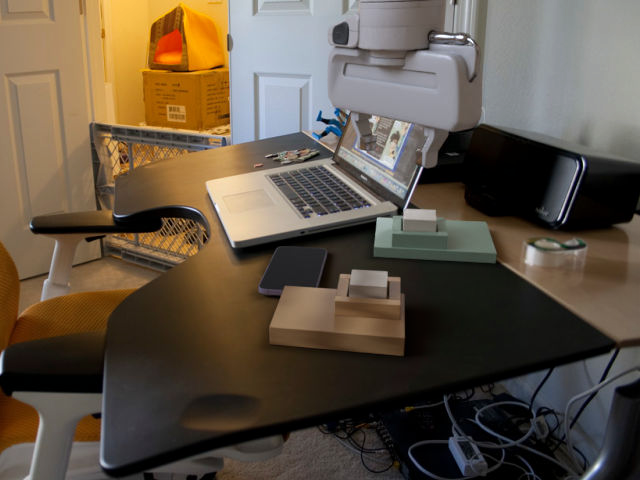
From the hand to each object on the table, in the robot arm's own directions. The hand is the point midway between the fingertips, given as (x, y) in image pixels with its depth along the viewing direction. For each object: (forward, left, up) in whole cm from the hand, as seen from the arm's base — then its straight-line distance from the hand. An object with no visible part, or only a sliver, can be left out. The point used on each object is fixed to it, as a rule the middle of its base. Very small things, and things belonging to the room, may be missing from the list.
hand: (394, 157), depth 72 cm
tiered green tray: (-6, -17, -17) cm, 25 cm away
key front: (+2, +7, -14) cm, 15 cm away
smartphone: (+12, -4, -17) cm, 21 cm away
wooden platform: (+5, +9, -17) cm, 20 cm away
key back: (-4, -15, -14) cm, 21 cm away
